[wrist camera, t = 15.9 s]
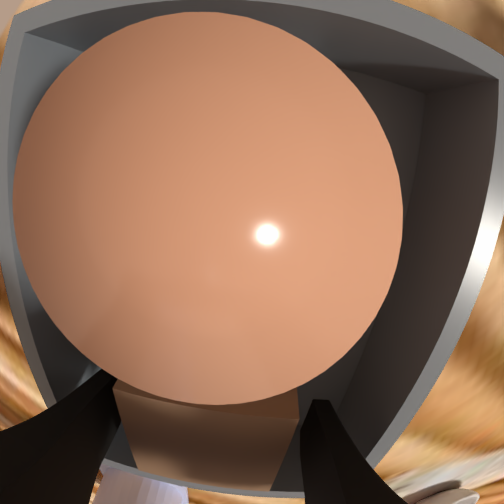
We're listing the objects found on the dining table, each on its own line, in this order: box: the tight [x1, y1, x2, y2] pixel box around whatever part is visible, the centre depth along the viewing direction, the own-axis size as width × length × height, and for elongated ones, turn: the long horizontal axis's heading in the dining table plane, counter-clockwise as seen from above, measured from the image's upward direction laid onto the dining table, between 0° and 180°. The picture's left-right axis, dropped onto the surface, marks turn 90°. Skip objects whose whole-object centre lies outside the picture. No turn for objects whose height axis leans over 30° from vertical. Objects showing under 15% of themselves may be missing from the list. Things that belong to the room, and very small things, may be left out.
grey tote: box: [0, 0, 504, 498], centre depth 10 cm, size 18×14×5 cm
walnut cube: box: [112, 379, 299, 492], centre depth 10 cm, size 5×5×5 cm
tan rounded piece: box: [12, 12, 403, 405], centre depth 6 cm, size 5×5×7 cm
